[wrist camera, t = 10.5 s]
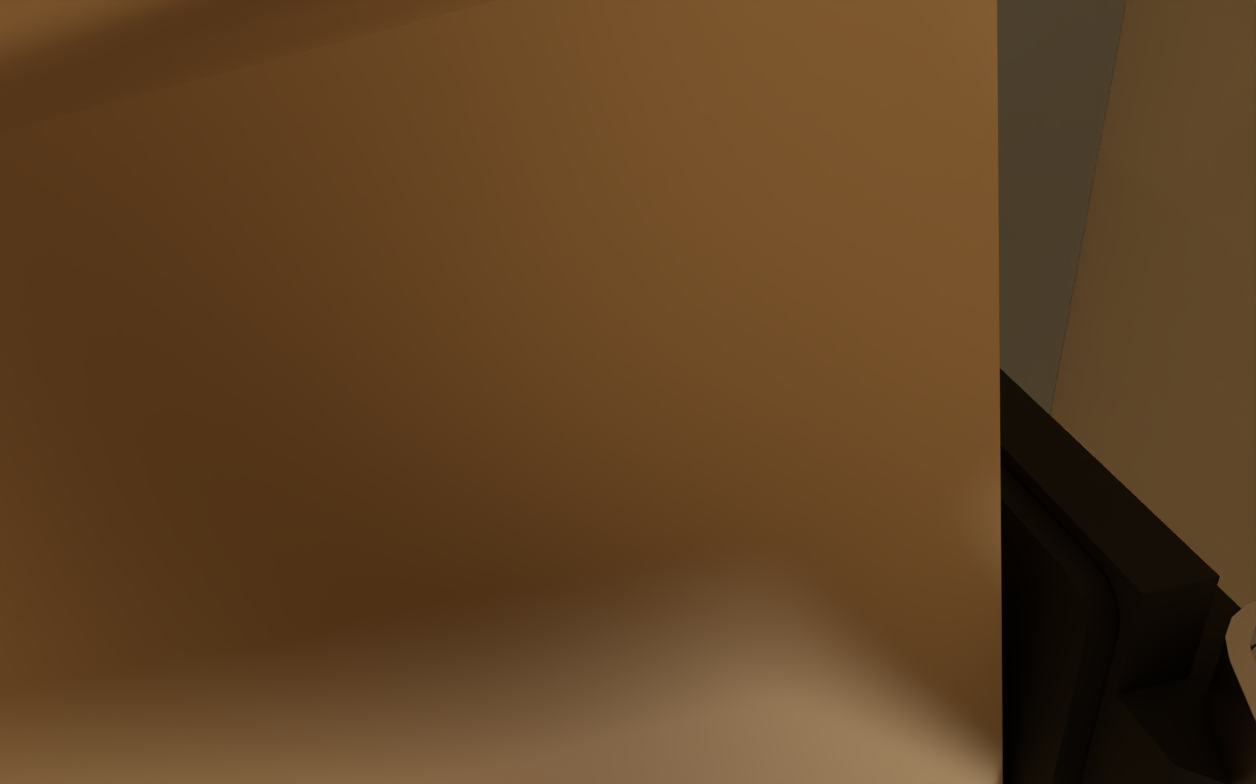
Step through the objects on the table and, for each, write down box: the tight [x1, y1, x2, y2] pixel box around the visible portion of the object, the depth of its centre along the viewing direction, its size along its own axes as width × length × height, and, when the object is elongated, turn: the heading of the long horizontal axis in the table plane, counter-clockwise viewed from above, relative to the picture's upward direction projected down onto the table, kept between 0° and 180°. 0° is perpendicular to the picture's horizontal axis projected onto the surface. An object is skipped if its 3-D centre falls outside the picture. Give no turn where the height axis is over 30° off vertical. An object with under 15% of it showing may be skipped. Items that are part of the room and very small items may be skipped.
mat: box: [997, 0, 1126, 415], centre depth 15 cm, size 18×18×1 cm
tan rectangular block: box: [0, 0, 1003, 784], centre depth 9 cm, size 6×10×4 cm, turn 11°
